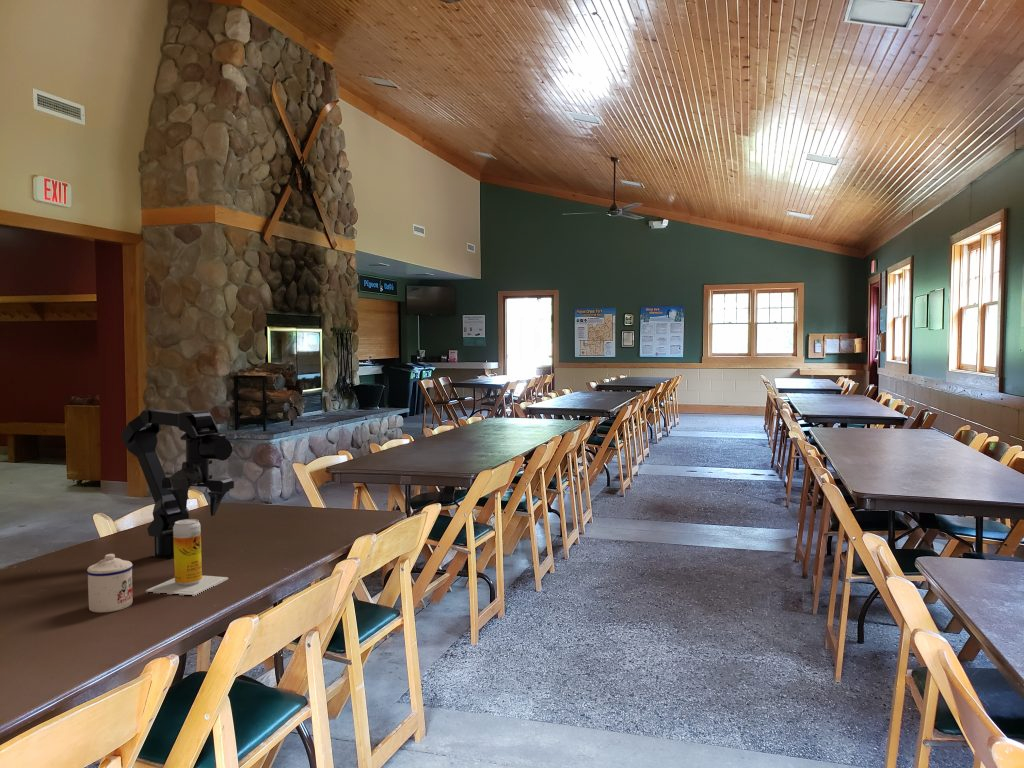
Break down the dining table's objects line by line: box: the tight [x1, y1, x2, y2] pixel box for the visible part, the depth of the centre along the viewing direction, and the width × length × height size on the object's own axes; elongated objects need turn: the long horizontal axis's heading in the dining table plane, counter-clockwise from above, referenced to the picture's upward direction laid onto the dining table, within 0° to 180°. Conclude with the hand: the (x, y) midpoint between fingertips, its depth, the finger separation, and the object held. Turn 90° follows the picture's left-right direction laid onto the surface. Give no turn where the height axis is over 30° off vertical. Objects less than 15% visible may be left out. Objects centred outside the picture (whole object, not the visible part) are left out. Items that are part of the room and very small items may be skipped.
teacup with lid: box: [86, 553, 134, 614], centre depth 164 cm, size 12×9×12 cm
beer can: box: [173, 518, 203, 586], centre depth 177 cm, size 6×6×15 cm
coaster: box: [145, 574, 229, 597], centre depth 177 cm, size 13×13×1 cm
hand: (197, 514), depth 197 cm, fingers open, 9 cm apart
